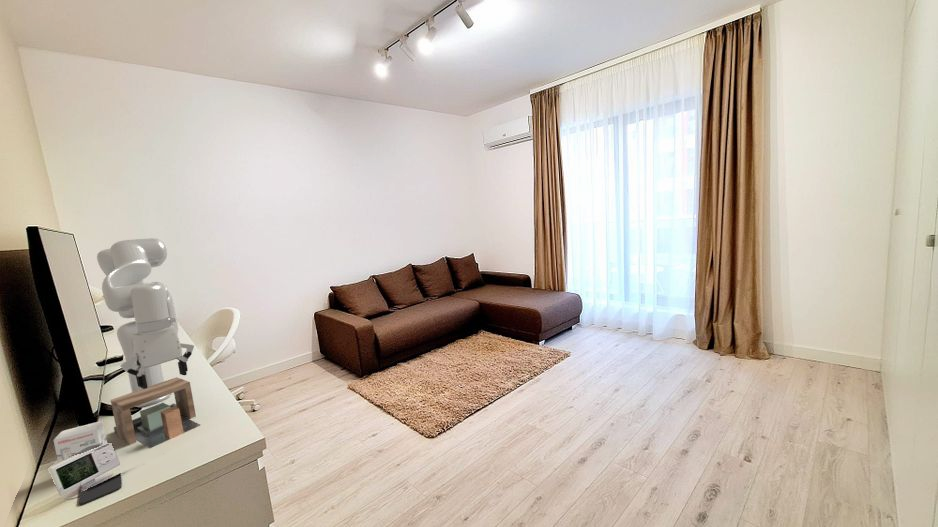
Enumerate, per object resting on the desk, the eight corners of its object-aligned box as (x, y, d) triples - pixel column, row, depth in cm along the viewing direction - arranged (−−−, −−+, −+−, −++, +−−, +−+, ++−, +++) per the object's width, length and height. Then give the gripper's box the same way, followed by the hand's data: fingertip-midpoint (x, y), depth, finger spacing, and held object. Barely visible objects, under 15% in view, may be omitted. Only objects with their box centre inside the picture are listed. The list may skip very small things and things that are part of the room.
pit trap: (115, 435, 115) (113, 427, 115) (175, 411, 129) (174, 403, 128) (120, 439, 113) (118, 430, 112) (181, 414, 126) (179, 406, 126)
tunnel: (118, 440, 112) (110, 399, 111) (183, 413, 127) (176, 377, 125) (130, 448, 107) (122, 406, 105) (196, 419, 121) (189, 381, 120)
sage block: (143, 428, 116) (139, 411, 115) (166, 419, 121) (162, 402, 120) (150, 433, 113) (147, 415, 112) (173, 423, 118) (170, 406, 117)
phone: (120, 462, 100) (121, 486, 90) (120, 465, 100) (122, 489, 90) (81, 477, 95) (78, 505, 84) (82, 480, 95) (79, 508, 84)
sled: (128, 436, 113) (122, 410, 112) (177, 416, 124) (172, 391, 123) (150, 451, 104) (144, 422, 103) (201, 427, 115) (196, 401, 114)
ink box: (60, 482, 94) (50, 440, 93) (68, 472, 98) (59, 431, 97) (105, 468, 99) (97, 427, 97) (111, 459, 103) (103, 420, 101)
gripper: (183, 317, 116) (192, 368, 118) (110, 333, 101) (121, 391, 103) (193, 318, 112) (203, 371, 114) (119, 336, 97) (131, 396, 99)
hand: (164, 381), depth 108 cm, fingers open, 9 cm apart
